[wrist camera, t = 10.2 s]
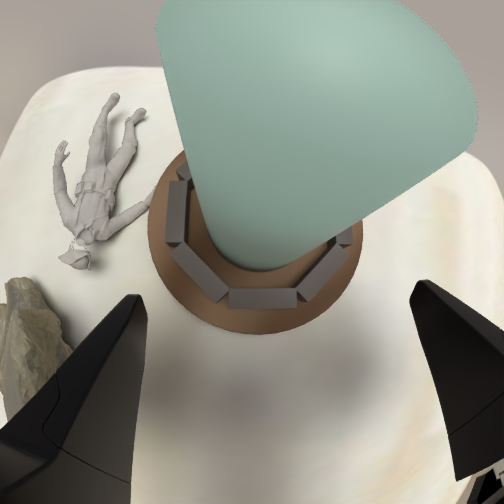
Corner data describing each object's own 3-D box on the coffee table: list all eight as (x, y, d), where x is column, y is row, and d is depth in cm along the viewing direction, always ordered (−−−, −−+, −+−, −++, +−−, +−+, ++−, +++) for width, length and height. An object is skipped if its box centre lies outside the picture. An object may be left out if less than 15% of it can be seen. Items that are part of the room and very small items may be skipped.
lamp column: (324, 198, 17) (463, 42, 4) (286, 290, 16) (477, 250, 3) (235, 157, 17) (251, -50, 4) (188, 244, 16) (77, 72, 3)
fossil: (121, 338, 20) (22, 267, 16) (136, 386, 11) (-37, 258, 7) (63, 460, 15) (-28, 401, 11) (62, 540, 6) (-72, 456, 2)
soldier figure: (177, 126, 20) (163, 265, 15) (144, 160, 23) (126, 289, 17) (97, 80, 15) (27, 217, 9) (71, 123, 17) (18, 256, 12)
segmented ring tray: (382, 231, 19) (409, 218, 15) (256, 371, 17) (263, 388, 13) (254, 112, 20) (259, 82, 16) (118, 227, 17) (97, 212, 14)
